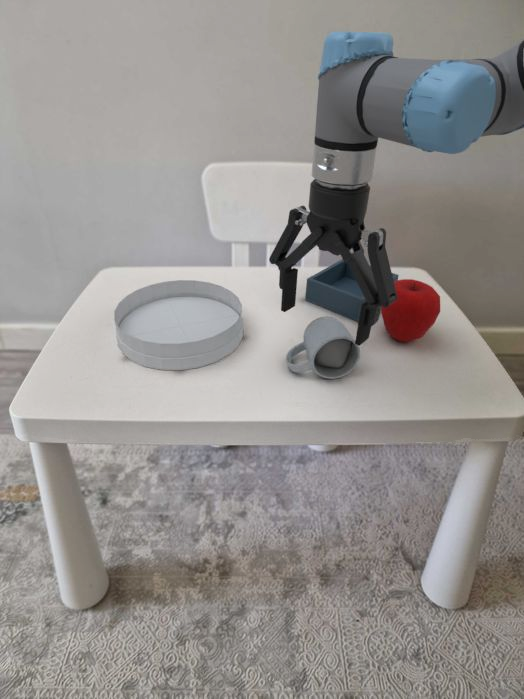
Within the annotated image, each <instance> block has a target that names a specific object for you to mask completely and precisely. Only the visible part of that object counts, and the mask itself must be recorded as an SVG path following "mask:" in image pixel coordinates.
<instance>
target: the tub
mask: <svg viewBox="0 0 524 699" xmlns="http://www.w3.org/2000/svg"><path fill="white" fill-rule="evenodd" d="M369 266H370V268H371V264H369ZM371 270H372V268H371ZM392 276H393V280H394V282H396V281H398V280H399V276H400V275H399V274H397V273H394V272H392ZM305 285H306V286H305V298H304V300H305V301H306V302H309V303H311V304H313V305H315V306H318V307H321V308H323V309H326V310H328V311H330V312H333V313H336V314H338V315H340V316H343V317H344V318H348V319H350V320H353V321H355V322H357V323H359V317H360V311H361V306H362V304H363V303H365V302H366V299H365V297H364V295H363V293H362V291H361V289H360V287H359V285H358V283H357V281H356V279H355V277H354V275H353V273H352V271H351V269H350V267H349V265H348V264H347V263H345V262H344V260H343V258H342V259H340V260H338V261H337V262H335V263H333V264H331V265H329V266H327V267H325V268H323V269H322V270H319V271H318V272H317V273H315V274H313V275H311V276H309V277H308V278H306V284H305Z"/></svg>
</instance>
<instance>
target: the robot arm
mask: <svg viewBox="0 0 524 699" xmlns="http://www.w3.org/2000/svg"><path fill="white" fill-rule="evenodd" d="M393 50H394V38H393V35H392V34H391V33H389V32H374V31H373V32H372V31H371V32H370V31H341V30H340V31H339V30H338V31H337V30H336V31H335V30H334V31H332V32H330V33H329V34H328V35H327V36H326V37H325V40H324V41H323V47H322V52H321V53H322V54H321V60H320V67H319V73H318V74H317V79H318V88H317V91H318V92H317V101H316V114H315V115H316V116H315V129H314V139H313V140H314V142H313V151H312V153H313V154H312V164H311V176H312V178H313V180H312V181H310V185H309V196H308V209H309V211H308V210H307V207H306V206H305V205H300V206H297V207H295V208H292V209H290V210H289V214H288V220H287V224H286V226H285V227H284V230H283V231H282V234H281V236H280V237H279V239H278V241H277V243H276V245H275V246H274V248H273V251H272V253H271V254H270V256H269V258H268V261H269V263H270V264H271V265H275V266H276V267H277V268H278V271H279V277H278V278H279V280H278V286H279V287H278V288H279V289H280V290H281V304H280V305H281V306H280V311H282V312H283V313H286V312H288V311H289V310H291V309H292V308H295V307H296V301H297V300H296V298H297V285H298V276H299V275H298V274H299V269H298V268H295V266H296V265H297V264H298V263H299V262H300V261H301V260H302V259H303V258H304V257H306V255H308V254H309V252H311V251H312V250H313V249H314V248H316V247H318V250H320V251H323V252H329V253H330V254H332V255H334V256H337V257H338V256H341V258H342V259H343V260H344V262H345V263H347V264H348V265H349V267H350V269H351V271H352V273H353V275H354V277H355V279H356V281H357V283H358V285H359V287H360V289H361V291H362V293H363V295H364V297H365V299H366V302H365V303H363V304H362V306H361V311H360V317H359V322H357V329H356V334H355V339H354V340H355V344H356V345H358V346H359V347H360V346H361V345H362V344H364V343H365V342H366V341H367V340H368V339H370V336H371V330H372V327H373V326H374V325H375V324H377V323H378V321H379V320H380V314H381V306H382V307H385V308H386V307H388V306H389V305H391V304H392V303H393V302H395V301H396V300H397V293H396V289H395V285H394V280H393V276H392V273H393V272H392V269H391V268H392V267H391V263H390V260H389V256H388V251H387V248H386V242H387V231H386V229H384V228H383V227H380V228H378V229H370V228H366V226H365V218H366V214H367V210H368V205H369V198H370V193H371V192H370V191H371V186H370V185H369V183H370V182H371V181H372V179H373V174H374V167H375V161H376V154H377V147H378V142H379V138H380V139H381V140H382V139H383V140H387V141H390V142H395V143H397V144H402V145H405V146H409V147H413V148H416V149H418V150H421V151H423V152H427V153H433V152H435V153H436V152H437V153H442V154H449V155H455V154H456V155H457V154H460V153H463V152H465V151H466V150H468V149H469V148H470V146H471V145H472V144H473V143H476V142H477V141H478V140H479V139H480V138H481V137H482V138H483V137H490V136H504V135H509V134H511V133H514V132H517V131H520V130H522V129H524V39H522V40H520V41H519V42H518V43H516V44H514V45H513V46H511V47H510V48H508V49H506V50H505V51H503V52H502V53H500V54H498V55H496V56H494V57H491V58H472V59H470V58H469V59H465V58H464V59H425V58H405V57H403V58H402V57H397V56H394V51H393ZM304 225H306V226H307V227H308V230H309V232H310V234H309V235H307V236H306V237H305V238H304V239H303V240H302V241H301V243H300V244H299V245H298V246H297V247H296V248H295V249H294V250H293V251H291V253H289V252H290V250H291V248H292V246H293V244H294V243H295V241H296V239H297V237H298V236H299V234H300V233H301V230H302V229H303V227H304ZM361 240H363V241H364V247H363V245H362V243H361ZM365 247H366V248H367V256H368V260H369V261H368V260H367V258H366V256H365V249H364V248H365ZM351 250H352V251H353V252H351ZM288 253H289V254H288ZM287 255H288V256H287ZM369 265H370V266H371V268H372V270H371V268H370V266H369Z"/></svg>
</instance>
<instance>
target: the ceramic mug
mask: <svg viewBox="0 0 524 699" xmlns="http://www.w3.org/2000/svg"><path fill="white" fill-rule="evenodd" d="M355 340H356V339H355V338H354V337H353V336H352V333H350V331H349V330H348V329H347V327H346V326H345V324H344V323H343V322H341V321H340V320H339V319H338V318H336V317H333V316H329V315H328V316H327V315H326V316H325V315H324V316H320V317H317V318H315V319H313V320H312V321H310V323H309V324H308V325H307V326H306V327H305V330H304V332H303V341H302V342H300V343H298V344H296V345H294V346H293V347H291V348H290V349H289V350H288V352H287V353H286V356H285V362H286V365H287V366H288V368H289V370H290V371H291V372H293V373H297V374H298V373H300V374H301V373H305V372H310V371H312V370H313V371H314V373H315V374H317V376H319V377H321V378H324V379H329V380H330V379H331V380H333V379H339V378H342V377H345V376H348V374H350V373H351V372H352V371H353V370H354V369H355V368H356V367H357V365H358V363H359V361H360V356H361V349H360V346H359V345H356V344H355ZM304 351H306V355H307V357H308V360H309V361H307V362H303V363H299V364H298V363H297V364H294V363H293V361H294V357H295V356H297V355H298V354H300V353H302V352H304Z"/></svg>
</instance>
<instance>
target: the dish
mask: <svg viewBox="0 0 524 699" xmlns="http://www.w3.org/2000/svg"><path fill="white" fill-rule="evenodd" d="M113 316H114V324H115V336H116V340H117V346H118V348H119V349H120V351H121V353H122V354H123V355H124V356H125V357H126V358H128V359H129V360H130V361H131V362H133V363H135V364H138V365H140V366H143V367H145V368H150V369H154V370H161V371H185V370H191V369H192V370H193V369H199V368H202V367H206V366H208V365H211V364H214V363H215V364H216V363H217V362H219V361H221V360H223V359H225V358H226V357H228V356H230V355H231V354H232V353H233V352H234V351H236V350H237V348H238V347H239V346H240V344H241V342H242V340H243V337H244V318H243V305H242V302H241V300H240V298H239V297H238V296H237V295H236V294H235V293H234V292H233V291H232V290H230V289H228V288H226V287H224V286H223V285H219V284H215V283H212V282H208V281H202V280H193V279H192V280H191V279H190V280H189V279H188V280H187V279H179V280H168V281H162V282H157V283H153V284H150V285H147V286H144V287H141V288H138V289H137V290H135V291H132V292H131V293H129V294H128V295H126V296H125V297H123V299H121V301H119V302H118V303H117V306H116V308H115V309H114V315H113Z"/></svg>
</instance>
